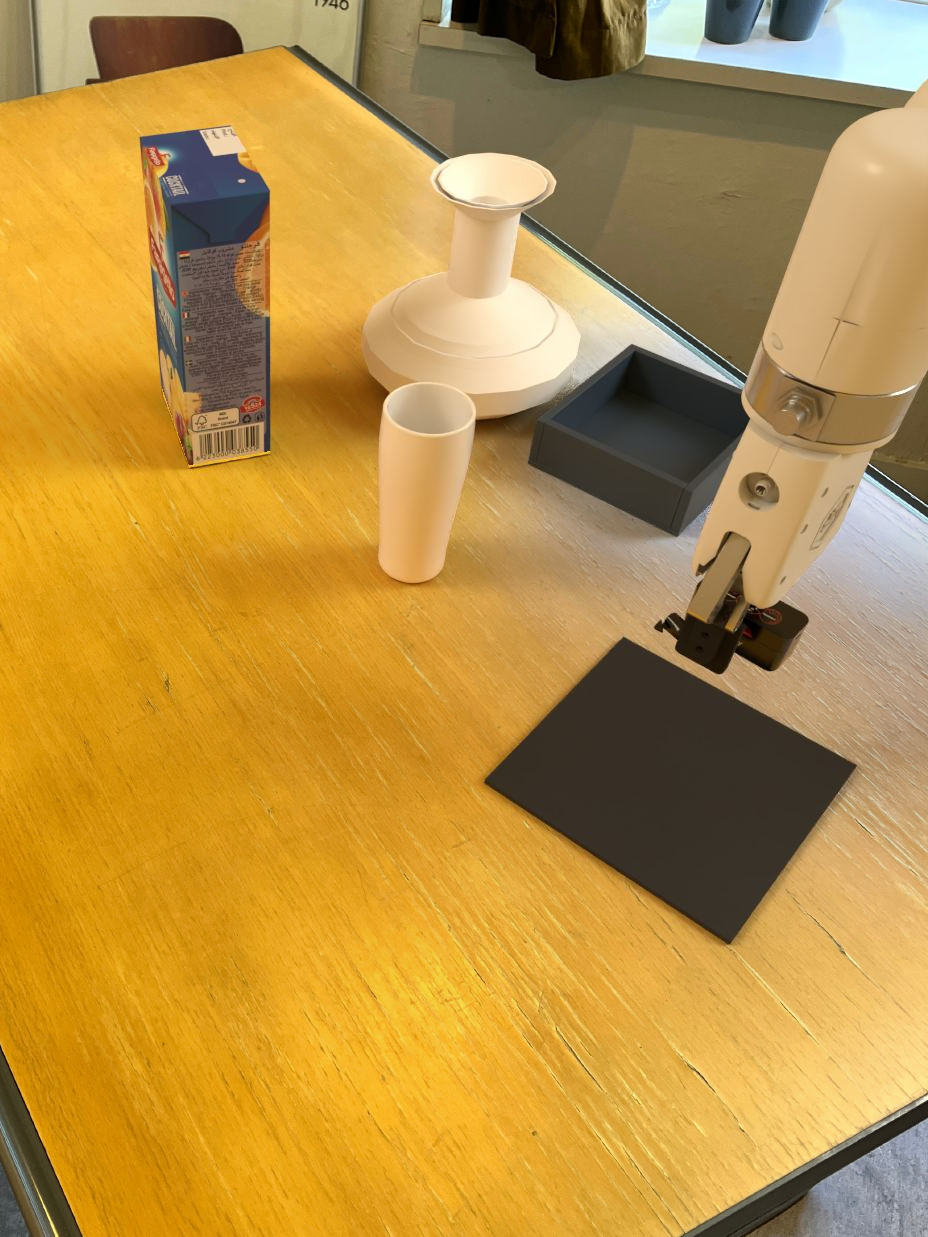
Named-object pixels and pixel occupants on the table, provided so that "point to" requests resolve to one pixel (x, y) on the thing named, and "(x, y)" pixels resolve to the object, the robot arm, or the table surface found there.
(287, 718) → the table surface
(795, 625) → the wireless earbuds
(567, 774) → the mat
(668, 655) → the table surface
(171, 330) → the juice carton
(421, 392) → the drinking glass
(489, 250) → the white ceramic vase shape
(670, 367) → the box
